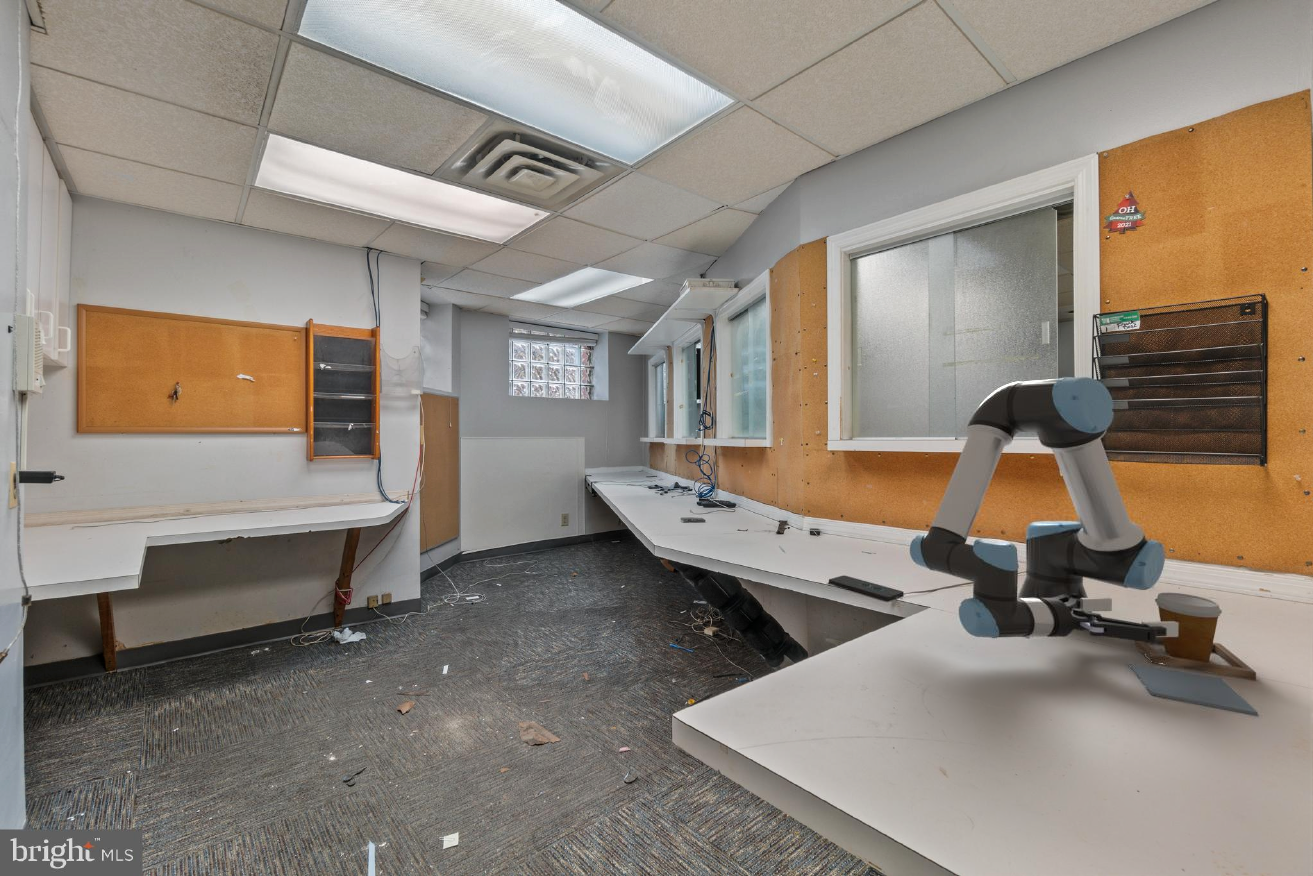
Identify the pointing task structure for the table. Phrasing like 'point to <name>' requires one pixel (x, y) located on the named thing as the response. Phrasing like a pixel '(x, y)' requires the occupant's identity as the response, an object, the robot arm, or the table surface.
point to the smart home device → (866, 588)
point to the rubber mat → (1191, 688)
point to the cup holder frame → (1234, 670)
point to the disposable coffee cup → (1189, 625)
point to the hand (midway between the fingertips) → (1141, 615)
